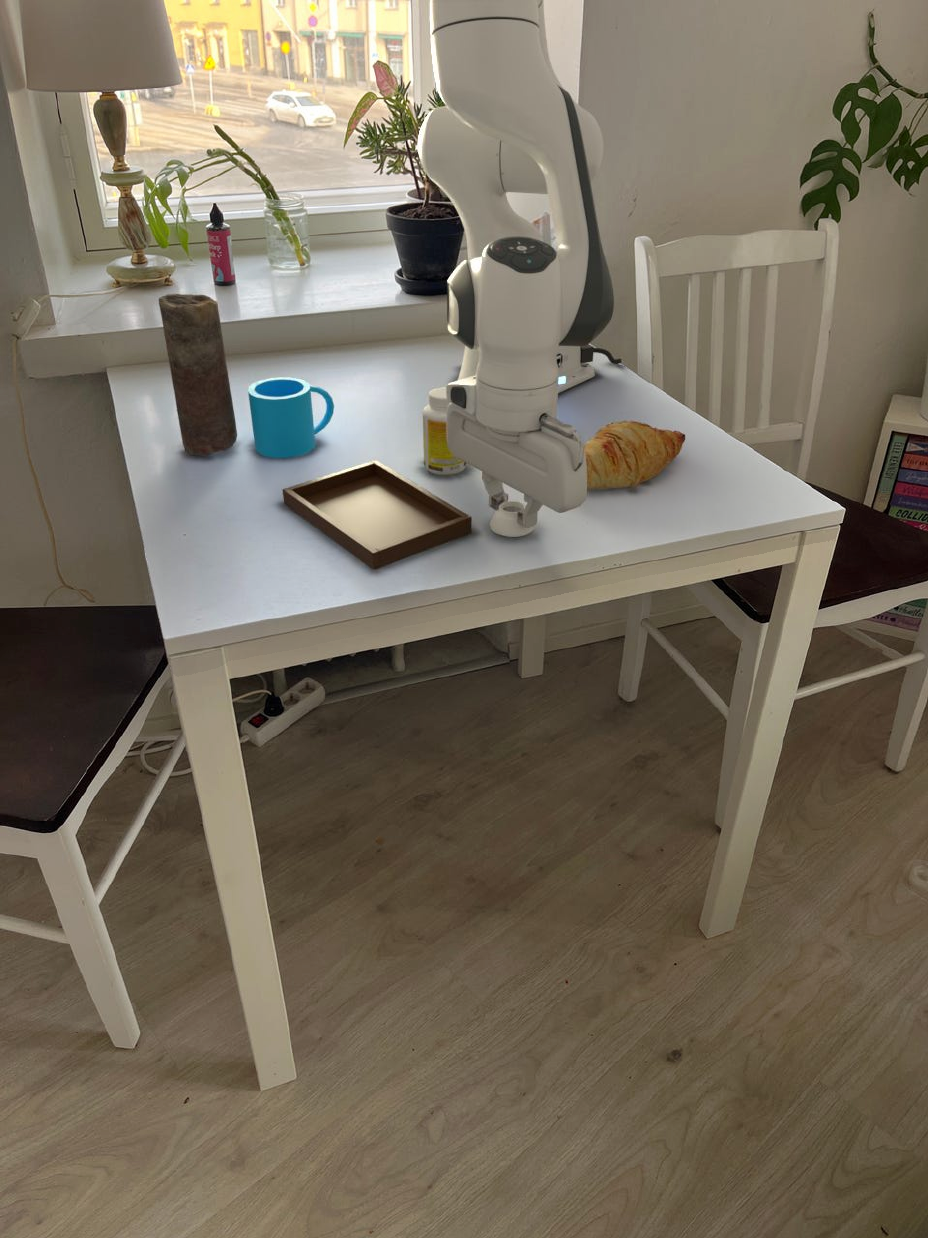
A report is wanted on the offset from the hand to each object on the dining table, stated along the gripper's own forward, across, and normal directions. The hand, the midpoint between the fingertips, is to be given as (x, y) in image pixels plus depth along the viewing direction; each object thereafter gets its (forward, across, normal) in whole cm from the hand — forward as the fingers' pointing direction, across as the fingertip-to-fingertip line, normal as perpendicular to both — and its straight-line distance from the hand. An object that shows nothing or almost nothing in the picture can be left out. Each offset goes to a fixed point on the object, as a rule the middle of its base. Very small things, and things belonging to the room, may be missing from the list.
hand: (512, 516), depth 111 cm
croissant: (+2, +3, -21) cm, 21 cm away
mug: (+2, +37, +7) cm, 38 cm away
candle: (+2, +43, +17) cm, 46 cm away
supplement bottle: (+2, +18, -4) cm, 19 cm away
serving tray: (+2, +12, +11) cm, 16 cm away
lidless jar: (+2, 0, 0) cm, 2 cm away
